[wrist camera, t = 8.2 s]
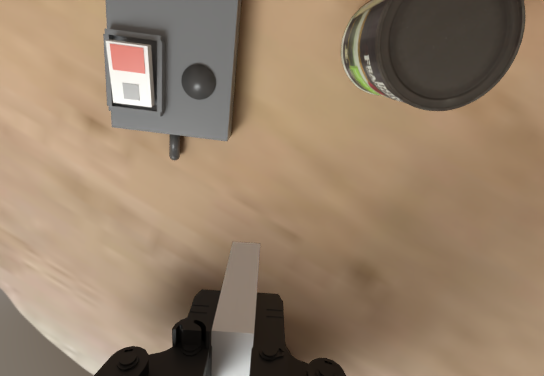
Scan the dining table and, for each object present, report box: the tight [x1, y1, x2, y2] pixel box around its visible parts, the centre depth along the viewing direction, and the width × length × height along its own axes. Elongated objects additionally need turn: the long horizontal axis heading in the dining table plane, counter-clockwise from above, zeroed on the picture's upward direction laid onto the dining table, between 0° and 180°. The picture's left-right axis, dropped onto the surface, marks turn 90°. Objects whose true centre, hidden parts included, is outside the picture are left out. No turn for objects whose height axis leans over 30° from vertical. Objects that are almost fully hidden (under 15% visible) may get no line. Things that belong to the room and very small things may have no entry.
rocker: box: [106, 40, 155, 107], centre depth 33 cm, size 6×4×1 cm, turn 173°
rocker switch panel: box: [104, 0, 241, 160], centre depth 34 cm, size 30×13×4 cm, turn 173°
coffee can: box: [341, 0, 525, 111], centre depth 30 cm, size 10×10×14 cm
